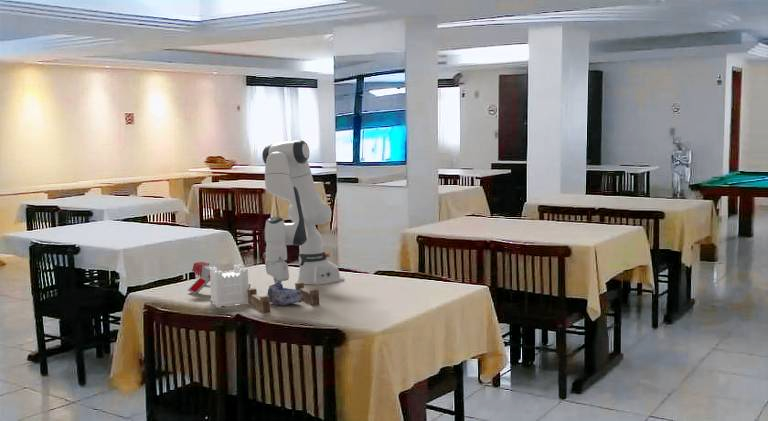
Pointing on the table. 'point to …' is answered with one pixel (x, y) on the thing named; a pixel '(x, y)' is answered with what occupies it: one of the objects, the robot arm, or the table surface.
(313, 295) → the wooden brackets
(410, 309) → the table surface
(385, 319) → the table surface
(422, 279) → the table surface
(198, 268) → the toy gun
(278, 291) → the mineral
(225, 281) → the castle model
